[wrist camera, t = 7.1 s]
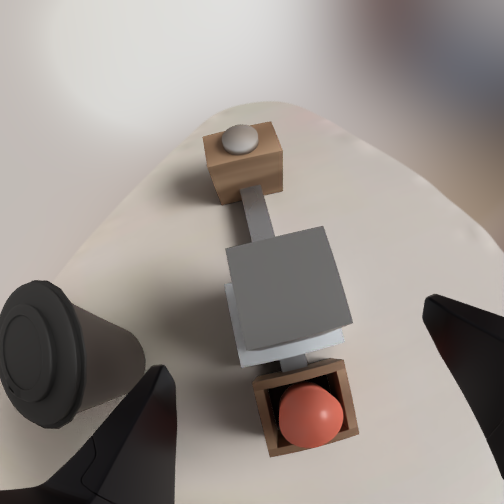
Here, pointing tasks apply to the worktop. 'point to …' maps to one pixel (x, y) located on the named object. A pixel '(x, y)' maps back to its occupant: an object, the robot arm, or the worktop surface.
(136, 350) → the coffee cup
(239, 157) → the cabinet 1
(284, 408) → the gauge button
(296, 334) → the plate
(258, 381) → the cabinet
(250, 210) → the handrail
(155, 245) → the worktop surface
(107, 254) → the worktop surface
